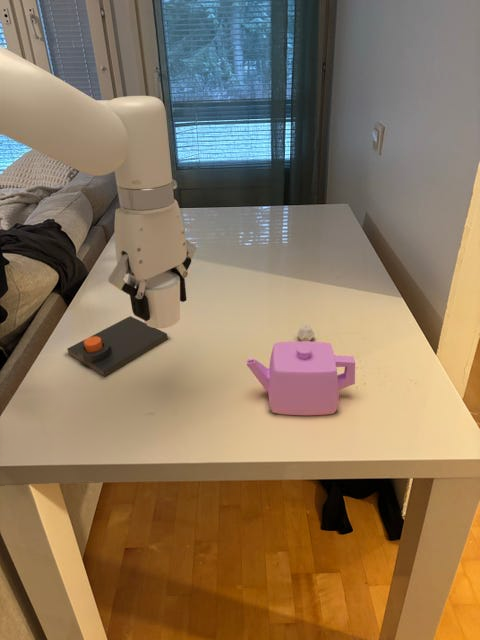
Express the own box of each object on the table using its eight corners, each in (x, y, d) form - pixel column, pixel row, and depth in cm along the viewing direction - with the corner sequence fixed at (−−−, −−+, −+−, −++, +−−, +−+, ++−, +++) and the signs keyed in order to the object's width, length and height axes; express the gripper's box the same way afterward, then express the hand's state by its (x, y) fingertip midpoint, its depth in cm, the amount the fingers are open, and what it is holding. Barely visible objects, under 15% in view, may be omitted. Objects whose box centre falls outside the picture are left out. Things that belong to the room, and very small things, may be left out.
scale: (102, 378, 87) (99, 365, 85) (66, 355, 93) (62, 343, 92) (167, 339, 97) (166, 326, 96) (131, 321, 104) (129, 309, 102)
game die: (296, 344, 94) (296, 331, 93) (297, 334, 97) (298, 322, 96) (313, 345, 94) (314, 333, 92) (314, 335, 97) (315, 323, 95)
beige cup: (180, 330, 71) (176, 290, 68) (136, 330, 72) (129, 290, 68) (186, 308, 77) (183, 270, 74) (145, 308, 78) (140, 270, 74)
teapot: (246, 416, 77) (245, 367, 71) (248, 377, 86) (247, 330, 80) (357, 418, 76) (364, 367, 70) (347, 377, 85) (353, 330, 79)
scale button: (92, 354, 89) (90, 347, 88) (82, 349, 90) (80, 341, 89) (105, 347, 91) (104, 339, 90) (96, 341, 92) (94, 334, 92)
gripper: (174, 178, 72) (184, 282, 81) (76, 206, 61) (100, 322, 70) (209, 186, 68) (216, 294, 77) (110, 217, 56) (131, 340, 66)
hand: (160, 307), depth 73 cm, fingers closed on beige cup, 6 cm apart
